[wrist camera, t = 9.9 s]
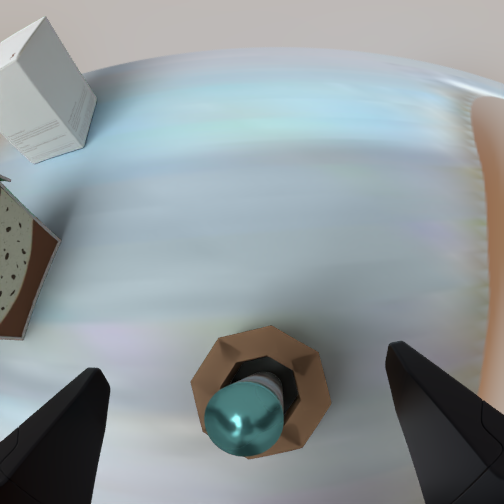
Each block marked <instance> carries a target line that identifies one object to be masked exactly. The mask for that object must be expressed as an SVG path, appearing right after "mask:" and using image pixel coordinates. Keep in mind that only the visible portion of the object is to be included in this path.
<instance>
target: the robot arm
mask: <svg viewBox="0 0 504 504" xmlns="http://www.w3.org/2000/svg"><path fill="white" fill-rule="evenodd" d="M385 367H386V372H387V376H388V380H389V384H390V389H391V393H392V397H393V402H394V406H395V410H396V413H397V416H398V419H399V422H400V425H401V428H402V431H403V434H404V436H405V439H406V442H407V445H408V448H409V451H410V454H411V458H412V461H413V464H414V467H415V470H416V473H417V477H418V480H419V483H420V486H421V490H422V493H423V497H424V500H425V504H504V415H503V414H502V413H500V412H499V411H498V410H496V409H495V408H493V407H492V406H491V405H489V404H488V403H486V402H485V401H482V399H481V398H480V397H478V396H477V395H476V394H474V393H473V392H472V391H470V390H469V389H468V388H466V387H465V386H464V385H462V384H461V383H460V382H458V381H457V380H455V379H454V378H453V377H451V376H450V375H449V374H447V373H446V372H445V371H443V370H442V369H441V368H439V367H438V366H436V365H435V364H434V363H432V362H431V361H430V360H428V359H427V358H426V357H424V356H423V355H421V354H420V353H419V352H417V351H416V350H415V349H413V348H412V347H410V346H409V345H408V344H406V343H405V342H403V341H397V342H392V343H390V344H389V346H388V351H387V356H386V361H385ZM109 397H110V385H109V383H108V381H107V380H106V378H105V376H104V375H103V373H102V371H101V370H100V369H99V368H87V369H86V370H84V371H83V372H82V373H81V374H80V375H78V376H77V377H76V378H75V379H74V380H73V381H71V382H70V383H69V384H68V385H67V386H65V387H64V388H63V389H62V390H61V391H60V392H58V393H57V394H56V395H55V396H54V397H53V398H51V399H50V400H49V401H48V402H47V403H46V404H44V405H43V406H42V407H41V408H40V409H39V410H37V411H36V412H35V413H34V414H33V415H32V416H30V417H29V418H28V419H27V420H26V421H25V422H23V423H22V424H21V425H20V426H19V428H16V429H15V430H14V431H13V432H12V433H11V434H10V435H8V436H7V437H6V438H5V439H4V440H2V441H1V442H0V504H91V500H92V494H93V489H94V483H95V477H96V472H97V467H98V462H99V457H100V452H101V447H102V443H103V438H104V433H105V428H106V420H107V412H108V404H109Z"/></svg>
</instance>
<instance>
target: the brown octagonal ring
mask: <svg viewBox="0 0 504 504" xmlns="http://www.w3.org/2000/svg"><path fill="white" fill-rule="evenodd" d="M268 356H269V357H271V358H272V359H274V360H276V361H277V362H279V363H281V364H283V365H284V366H286V367H288V368H290V369H291V370H292V372H293V376H294V380H295V384H296V388H297V392H298V394H297V396H296V398H295V399H294V401H293V402H292V404H291V405H290V407H289V408H288V410H287V412H286V413H285V415H284V424H283V429H282V433H281V435H280V437H279V439H278V440H277V442H276V443H275V444H274V445H273V446H272V447H271V448H270V449H268V450H267V451H265V452H263V453H261V454H258V455H254V456H248V457H245V458H247V459H253V458H259V457H264V456H269V455H274V454H278V453H283V452H287V451H292V450H296V449H300V448H303V446H304V445H305V443H306V442H307V440H308V439H309V437H310V436H311V434H312V433H313V431H314V430H315V428H316V427H317V425H318V424H319V422H320V421H321V419H322V418H323V416H324V414H325V413H326V411H327V410H328V408H329V407H330V405H331V399H330V395H329V391H328V387H327V383H326V379H325V375H324V371H323V367H322V364H321V360H320V356H319V352H317V351H316V350H314V349H312V348H310V347H308V346H307V345H305V344H303V343H301V342H300V341H298V340H296V339H294V338H293V337H291V336H289V335H287V334H286V333H284V332H282V331H280V330H279V329H277V328H275V327H273V326H272V325H270V326H266V327H262V328H258V329H254V330H250V331H246V332H242V333H238V334H233V335H229V336H225V337H220V338H218V340H217V341H216V343H215V344H214V346H213V347H212V349H211V351H210V352H209V354H208V355H207V357H206V358H205V360H204V361H203V363H202V365H201V366H200V368H199V369H198V371H197V372H196V374H195V376H194V377H193V379H192V380H191V386H192V390H193V394H194V399H195V403H196V407H197V411H198V415H199V419H200V423H201V427H202V431H203V432H204V433H206V434H207V431H206V428H205V424H204V414H205V409H206V406H207V404H208V402H209V400H210V399H211V398H212V396H213V395H214V394H215V393H216V392H218V391H219V390H220V389H222V388H224V387H226V386H228V385H230V383H231V381H232V380H233V378H234V376H235V375H236V373H237V372H238V370H239V369H240V367H241V365H242V364H243V362H246V361H251V360H255V359H259V358H263V357H268ZM207 435H208V434H207Z"/></svg>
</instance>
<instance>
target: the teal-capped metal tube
mask: <svg viewBox="0 0 504 504" xmlns="http://www.w3.org/2000/svg"><path fill="white" fill-rule="evenodd" d="M204 424H205V428H206V431H207V434H208V436H209V437H210V439H211V440H212V442H213V443H214V444H215V445H216V446H217V447H219V448H220V449H221V450H223V451H225V452H227V453H229V454H232V455H236V456H242V457H248V456H254V455H258V454H261V453H263V452H265V451H267V450H268V449H270V448H271V447H272V446H273V445H274V444H275V443H276V442H277V440H278V439H279V437H280V435H281V433H282V429H283V424H284V415H283V387H282V383H281V381H280V379H279V378H278V377H277V376H276V375H274V374H272V373H270V372H265V371H263V372H257V373H255V374H253V375H251V376H248V377H246V378H244V379H242V380H240V381H237V382H235V383H233V384H231V385H228V386H226V387H224V388H222V389H220V390H219V391H218V392H216V393H215V394H214V395H213V396H212V398H211V399H210V400H209V402H208V404H207V406H206V409H205V414H204Z"/></svg>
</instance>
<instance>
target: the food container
mask: <svg viewBox="0 0 504 504" xmlns="http://www.w3.org/2000/svg"><path fill="white" fill-rule="evenodd" d="M0 181H8V182H11V179H9V178H7V177H4V176H2V175H0ZM60 243H61V240H60V239H59V238H58V237H57V236H56V235H55V234H54V233H53V232H51V231H50V230H49V229H48V228H47V227H46V226H45V225H44V224H43V223H42V222H41V221H40V220H39V219H37V218H36V217H35V216H34V215H33V214H32V213H31V212H30V211H29V210H28V209H27V208H26V207H25V206H24V205H23V204H22V203H21V202H20V201H19V200H18V199H17V198H16V197H15V196H14V195H13V194H12V193H11V192H10V191H9V190H8V189H7V188H6V187H5V186H4V185H3V184H2V183H1V182H0V339H7V340H23V339H24V336H25V333H26V330H27V327H28V324H29V321H30V318H31V315H32V312H33V309H34V307H35V304H36V301H37V298H38V296H39V293H40V291H41V288H42V285H43V283H44V280H45V278H46V275H47V273H48V271H49V268H50V266H51V264H52V261H53V259H54V257H55V254H56V252H57V250H58V248H59V245H60Z"/></svg>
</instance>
